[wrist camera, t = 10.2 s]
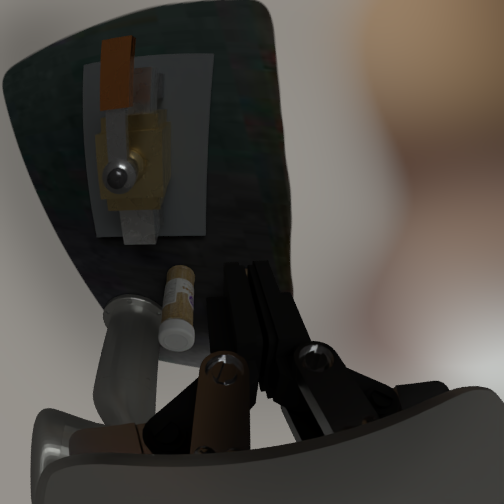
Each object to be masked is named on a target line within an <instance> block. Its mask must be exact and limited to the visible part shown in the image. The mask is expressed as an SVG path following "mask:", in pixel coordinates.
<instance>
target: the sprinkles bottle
mask: <svg viewBox="0 0 504 504" xmlns="http://www.w3.org/2000/svg"><path fill="white" fill-rule="evenodd" d="M194 281H195V275H194V272H193V271H192V270H191V269H190V268H188V267H187V266H183V265H178V266H174V267H172V268H171V269H169V271H168V272H167V282H166V286H165V292H164V300H163V307H162V319H161V324H160V327H159V334H158V340H159V343H160V344H161V345H162V346H163V347H164V348H166V349H168V350H170V351H176V352H181V351H185V350H188V349H190V348H191V347H192V346H193V344H194V337H195V332H194V328H193V310H194Z"/></svg>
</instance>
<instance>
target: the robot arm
mask: <svg viewBox="0 0 504 504" xmlns="http://www.w3.org/2000/svg"><path fill="white" fill-rule="evenodd" d="M206 299H207V314H208V328H209V341H210V353H211V354H210V355H208V356H207V357H205V359H204V360H203V361H202V363H201V366H200V370H199V377H198V378H197V379H196V380H195V381H194V382H192V383H191V384H190V385H189V386H188V387H187V388H186V389H184V390H183V391H182V392H181V393H180V394H179V395H178V396H177V397H175V398H174V399H173V400H172V401H171V402H169V403H168V404H167V405H166V406H165V407H163V408H162V409H161V410H160V411H159V412H158V413H156V414H155V406H156V404H155V402H156V387H157V370H158V358H159V346H160V343H159V340H158V334H159V327H160V324H161V319H162V307H161V306H160V305H159V304H157V303H156V302H155V301H153V300H151V299H149V298H146V297H143V296H139V295H130V294H127V295H120V296H117V297H115V298H113V299H111V300H110V301H109V302H108V303H107V305H106V306H105V309H104V313H103V320H104V323H105V325H106V327H107V328H108V329H107V333H106V336H105V340H104V344H103V349H102V352H101V357H100V361H99V366H98V370H97V375H96V379H95V384H94V391H93V400H94V404H95V407H96V409H97V412H98V414H99V415H100V417H101V419H102V421H103V422H104V424H105V425H104V424H99V423H95V422H92V421H88V420H85V419H82V418H79V417H76V416H74V415H71V414H68V413H65V412H62V411H59V410H56V409H51V408H47V409H43V410H42V411H41V412H39V414H38V415H37V417H36V420H35V423H34V428H33V434H32V445H31V500H32V504H504V403H503V401H502V400H501V399H500V398H499V396H498V395H497V394H496V393H495V392H493V391H492V390H491V389H488V388H485V387H479V386H469V387H461V388H456V389H453V390H450V391H449V389H448V387H447V386H446V385H445V384H444V383H442V382H440V381H430V382H422V383H414V384H405V385H396V386H395V387H394V388H391V387H389V386H387V385H385V384H383V383H380V382H378V381H376V380H373V379H371V378H369V377H367V376H364V375H362V374H360V373H357V372H355V371H353V370H351V369H349V368H346V366H345V364H344V363H343V362H342V360H341V359H340V357H339V356H338V354H337V353H336V351H335V350H333V348H332V347H330V346H329V345H327V344H325V343H322V342H318V341H311V339H310V337H309V335H308V332H307V330H306V328H305V325H304V323H303V321H302V318H301V316H300V314H299V311H298V309H297V306H296V304H295V302H294V299H293V297H292V295H291V293H290V292H284V293H280V291H279V288H278V285H277V283H276V280H275V278H274V275H273V273H272V270H271V267H270V265H269V262H268V261H253V264H252V265H248V268H247V275H246V271H245V267H244V265H243V266H239V263H238V262H227V263H224V297H208V298H206ZM258 382H259V386H260V390H261V392H262V391H266V394H267V398H268V399H269V398H273V401H274V402H276V403H278V404H280V405H281V409H282V412H283V414H284V417H285V419H286V421H287V423H288V425H289V427H290V429H291V431H292V434H293V436H294V437H295V440H296V442H295V443H291V444H285V445H279V446H273V447H267V448H260V449H252V450H250V409H251V408H252V407H253V406H254V405H255V403H256V396H257V389H258Z"/></svg>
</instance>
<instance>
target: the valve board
mask: <svg viewBox="0 0 504 504" xmlns="http://www.w3.org/2000/svg"><path fill="white" fill-rule="evenodd" d="M213 59H214V54H165V55H150V56H139V57H134V68H142V67H154V68H157V69H159V73H164V74H165V79H164V98H157V110H160V109H167V120H166V122H171V178H170V181H169V183H168V186H167V191H166V194H165V197H164V209H165V222H164V225H160V231H159V235H158V236H206V184H207V154H208V132H209V114H210V98H211V84H212V71H213ZM100 66H101V62H97V63H92V64H87V65H84V72H83V129H84V146H85V159H86V169H87V178H88V186H89V194H90V200H91V207H92V213H93V219H94V224H95V230H96V235H97V237H123V234H122V227H121V220H120V212H119V211H108V205H107V199H102V200H101V196H100V188H99V180H98V170H97V159H96V144H95V135H96V134H98V133H100V132H101V118H103V117H106V110H104V111H100Z"/></svg>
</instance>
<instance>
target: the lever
mask: <svg viewBox="0 0 504 504" xmlns="http://www.w3.org/2000/svg"><path fill="white" fill-rule="evenodd" d="M135 41H136V38H135V37H133V36H132V35H131V36H125V37H119V38H113V39H107V40H102V49H101V66H100V111H104V110H106V137H107V152H108V164H107V165H106V166H105V168H104V170H103V173H102V181H103V184H104V186H105V187H106V188H107V189H108V190H109V191H110V192H112V193H115V194H123V193H126V192H128V191H129V190H130V189H131V188H132V187H133V185H134V184H135V183H136V181H137V178H138V168H137V166H136V164H135V163H134V161H133V160H131V159H130V158H129V140H128V107H132V106H133V76H134V55H135Z"/></svg>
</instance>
